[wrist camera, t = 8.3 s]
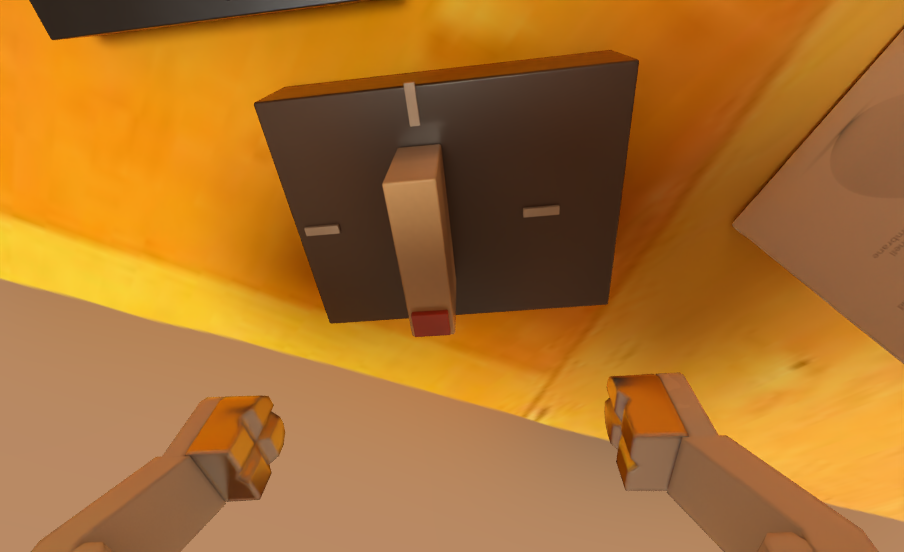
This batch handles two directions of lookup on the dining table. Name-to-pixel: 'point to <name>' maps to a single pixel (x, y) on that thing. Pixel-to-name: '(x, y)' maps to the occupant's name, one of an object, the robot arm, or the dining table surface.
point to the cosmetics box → (846, 205)
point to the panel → (462, 178)
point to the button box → (152, 13)
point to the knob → (422, 238)
